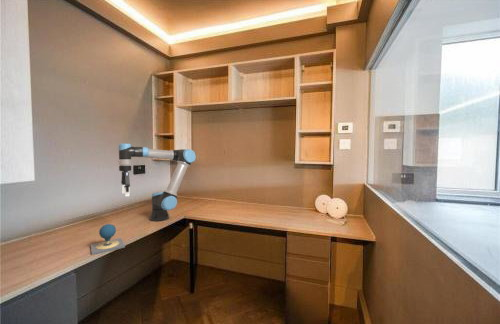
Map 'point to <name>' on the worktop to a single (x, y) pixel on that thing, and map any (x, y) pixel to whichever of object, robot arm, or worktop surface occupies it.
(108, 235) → the light bulb
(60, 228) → the worktop surface
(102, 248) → the socket board
